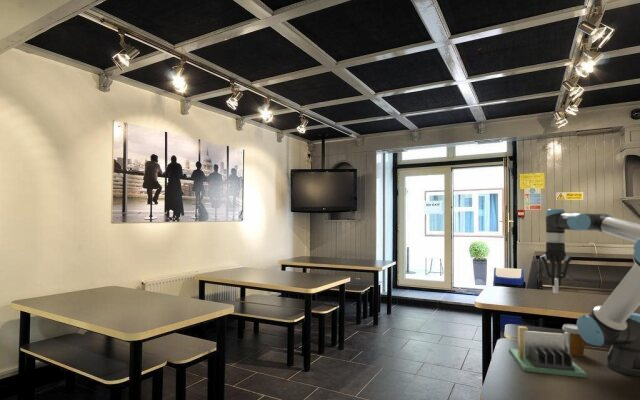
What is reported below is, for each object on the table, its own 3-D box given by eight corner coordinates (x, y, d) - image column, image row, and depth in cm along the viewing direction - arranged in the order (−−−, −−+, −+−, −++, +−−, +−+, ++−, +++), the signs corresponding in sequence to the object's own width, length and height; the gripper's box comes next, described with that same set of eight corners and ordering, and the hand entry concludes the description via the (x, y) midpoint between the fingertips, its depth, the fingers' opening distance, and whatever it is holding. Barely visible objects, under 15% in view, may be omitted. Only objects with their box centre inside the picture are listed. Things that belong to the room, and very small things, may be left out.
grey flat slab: (562, 360, 157) (562, 333, 157) (564, 361, 155) (564, 334, 156) (523, 356, 160) (523, 330, 160) (524, 358, 158) (524, 331, 159)
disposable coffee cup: (591, 358, 164) (591, 330, 165) (567, 356, 166) (567, 329, 167) (581, 350, 174) (581, 324, 174) (558, 349, 176) (558, 323, 176)
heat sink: (568, 360, 157) (568, 329, 157) (580, 371, 146) (580, 338, 147) (517, 356, 161) (517, 325, 162) (525, 366, 151) (525, 333, 151)
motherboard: (563, 356, 166) (563, 353, 166) (586, 377, 144) (586, 373, 144) (508, 351, 171) (508, 348, 171) (523, 370, 149) (523, 367, 149)
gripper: (567, 241, 178) (567, 292, 177) (537, 240, 181) (537, 290, 180) (574, 242, 170) (574, 295, 169) (542, 241, 173) (542, 293, 172)
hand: (555, 292), depth 175 cm, fingers closed
